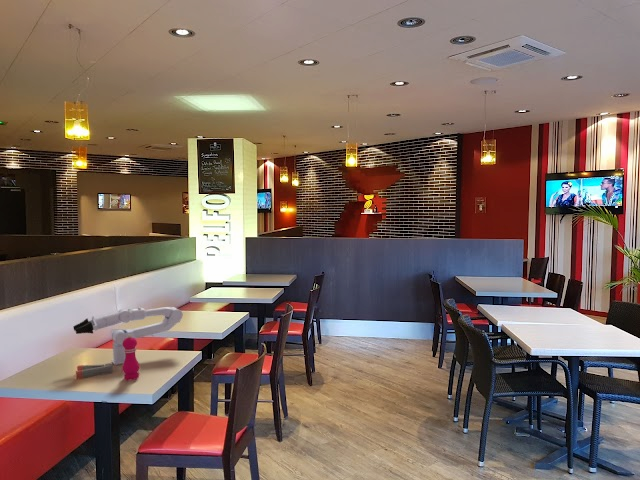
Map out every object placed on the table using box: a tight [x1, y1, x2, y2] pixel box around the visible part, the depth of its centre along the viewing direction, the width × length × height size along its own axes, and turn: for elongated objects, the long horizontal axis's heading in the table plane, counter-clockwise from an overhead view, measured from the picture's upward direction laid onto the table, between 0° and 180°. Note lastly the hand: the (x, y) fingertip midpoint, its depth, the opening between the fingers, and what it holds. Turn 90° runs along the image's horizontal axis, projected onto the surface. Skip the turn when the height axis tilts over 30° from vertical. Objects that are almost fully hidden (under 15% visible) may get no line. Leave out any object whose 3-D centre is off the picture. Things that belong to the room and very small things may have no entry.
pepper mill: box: [122, 334, 140, 381], centre depth 221 cm, size 7×7×20 cm
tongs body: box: [75, 362, 113, 380], centre depth 227 cm, size 16×5×3 cm, turn 123°
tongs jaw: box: [76, 364, 105, 371], centre depth 231 cm, size 12×2×3 cm, turn 93°
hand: (74, 330), depth 233 cm, fingers open, 7 cm apart
